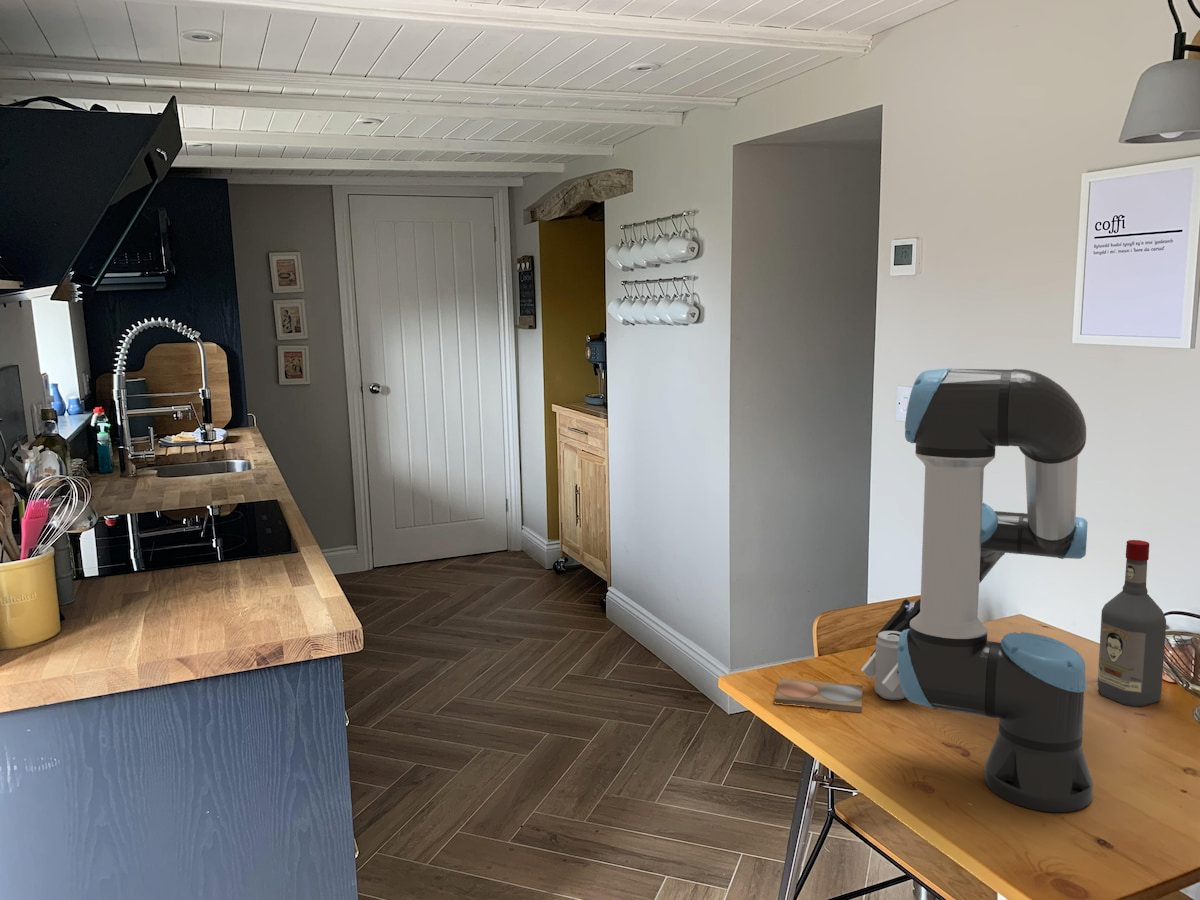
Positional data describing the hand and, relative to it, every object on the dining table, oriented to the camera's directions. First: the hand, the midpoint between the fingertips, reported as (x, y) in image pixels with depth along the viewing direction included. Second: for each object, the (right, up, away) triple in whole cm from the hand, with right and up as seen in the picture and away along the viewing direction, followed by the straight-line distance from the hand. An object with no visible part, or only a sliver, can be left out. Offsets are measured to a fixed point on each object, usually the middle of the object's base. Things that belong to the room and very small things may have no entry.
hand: (876, 680), depth 174 cm
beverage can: (+4, -3, +2) cm, 5 cm away
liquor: (+48, -3, -1) cm, 48 cm away
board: (-11, -4, +2) cm, 11 cm away
